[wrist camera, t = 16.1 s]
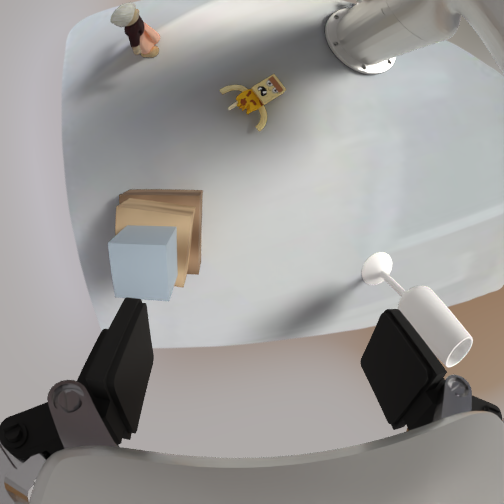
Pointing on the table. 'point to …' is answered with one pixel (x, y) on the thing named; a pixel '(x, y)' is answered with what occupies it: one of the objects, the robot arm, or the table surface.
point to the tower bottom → (183, 199)
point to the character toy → (257, 97)
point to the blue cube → (144, 262)
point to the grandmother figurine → (136, 30)
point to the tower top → (161, 215)
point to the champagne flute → (423, 313)
